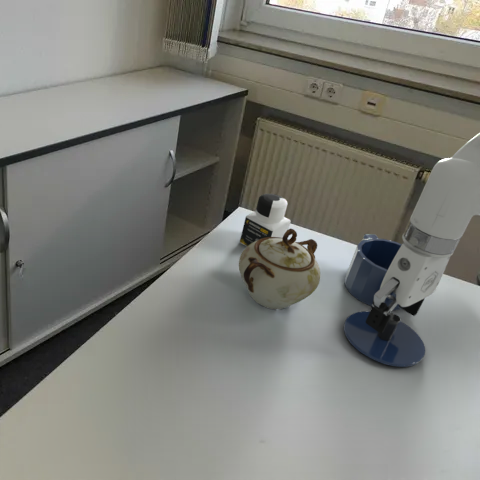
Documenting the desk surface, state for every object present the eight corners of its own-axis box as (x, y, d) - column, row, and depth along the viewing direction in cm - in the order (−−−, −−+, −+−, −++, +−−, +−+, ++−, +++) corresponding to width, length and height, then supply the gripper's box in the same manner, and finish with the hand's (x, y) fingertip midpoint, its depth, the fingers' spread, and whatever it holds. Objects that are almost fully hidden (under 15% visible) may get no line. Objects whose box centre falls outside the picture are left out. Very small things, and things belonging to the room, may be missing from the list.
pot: (385, 265, 118) (399, 232, 113) (428, 320, 103) (447, 285, 98) (330, 263, 117) (342, 229, 112) (365, 318, 102) (381, 283, 97)
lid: (399, 317, 103) (410, 293, 100) (438, 370, 92) (452, 346, 89) (331, 314, 102) (340, 291, 99) (361, 368, 91) (373, 343, 88)
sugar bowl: (275, 261, 116) (293, 200, 107) (333, 301, 106) (358, 237, 97) (208, 290, 105) (222, 224, 97) (265, 336, 95) (286, 267, 87)
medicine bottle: (238, 242, 121) (250, 195, 114) (257, 233, 125) (269, 187, 118) (265, 257, 117) (278, 209, 110) (283, 247, 121) (297, 200, 114)
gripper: (422, 263, 78) (379, 349, 87) (482, 236, 87) (437, 317, 96) (377, 237, 83) (341, 321, 92) (438, 214, 92) (400, 293, 101)
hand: (390, 319), depth 94 cm, fingers open, 9 cm apart
